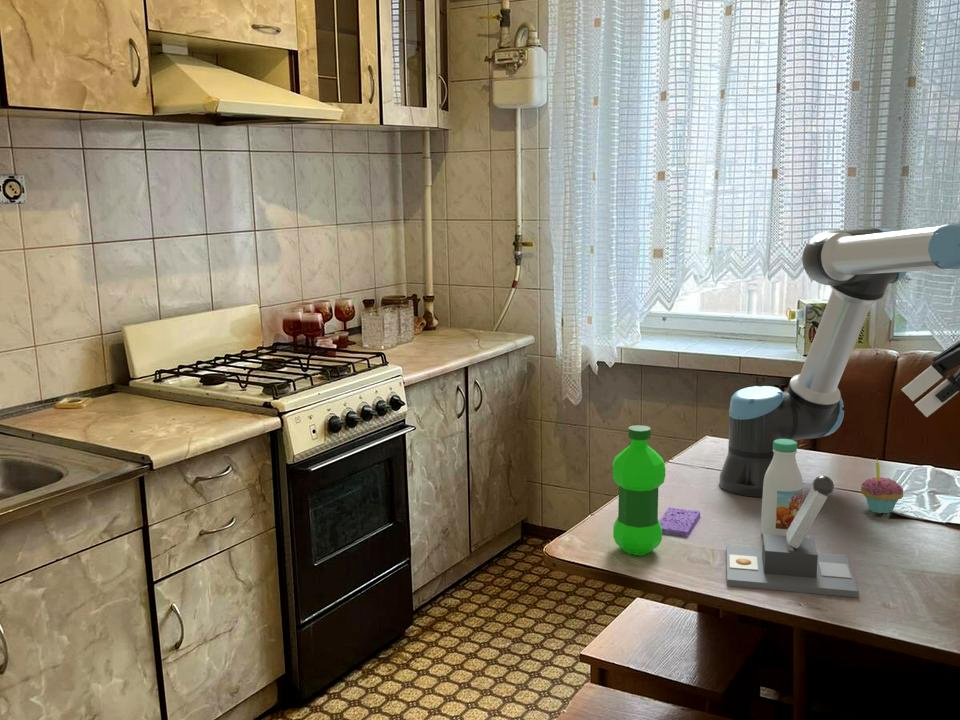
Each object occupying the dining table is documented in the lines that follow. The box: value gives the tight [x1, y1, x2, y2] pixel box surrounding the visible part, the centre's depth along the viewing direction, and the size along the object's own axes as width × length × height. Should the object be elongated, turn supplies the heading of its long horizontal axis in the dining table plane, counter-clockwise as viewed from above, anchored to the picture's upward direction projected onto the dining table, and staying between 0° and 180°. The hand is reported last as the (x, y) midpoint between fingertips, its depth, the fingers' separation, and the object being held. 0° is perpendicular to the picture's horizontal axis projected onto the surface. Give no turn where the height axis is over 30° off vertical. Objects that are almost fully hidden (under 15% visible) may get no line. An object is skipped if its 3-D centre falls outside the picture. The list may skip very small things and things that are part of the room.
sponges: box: [658, 506, 701, 538], centre depth 193 cm, size 7×13×2 cm, turn 155°
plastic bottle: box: [612, 424, 667, 556], centre depth 177 cm, size 10×10×25 cm
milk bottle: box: [760, 439, 804, 536], centre depth 184 cm, size 8×8×20 cm
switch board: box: [725, 534, 859, 599], centre depth 168 cm, size 22×16×6 cm
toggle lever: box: [786, 475, 835, 549], centre depth 165 cm, size 4×6×14 cm, turn 166°
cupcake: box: [860, 458, 904, 514], centre depth 198 cm, size 9×8×12 cm
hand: (913, 403), depth 157 cm, fingers open, 11 cm apart
